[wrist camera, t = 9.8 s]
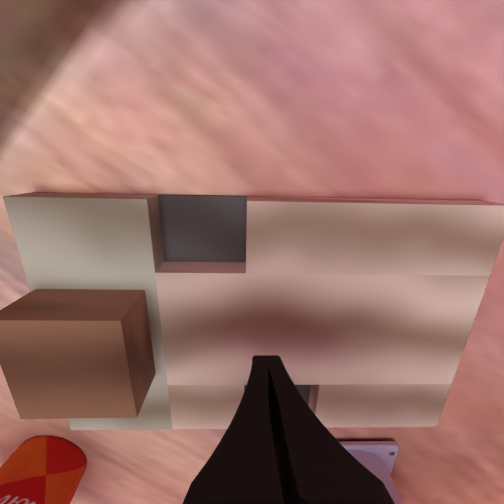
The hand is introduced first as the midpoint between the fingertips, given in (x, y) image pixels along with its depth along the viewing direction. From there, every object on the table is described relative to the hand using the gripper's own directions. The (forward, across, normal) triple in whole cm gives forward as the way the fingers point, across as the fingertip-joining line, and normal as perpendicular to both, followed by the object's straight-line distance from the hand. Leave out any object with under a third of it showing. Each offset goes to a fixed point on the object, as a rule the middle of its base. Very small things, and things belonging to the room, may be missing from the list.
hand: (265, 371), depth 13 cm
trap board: (+5, 0, 0) cm, 5 cm away
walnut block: (+3, +10, 0) cm, 10 cm away
